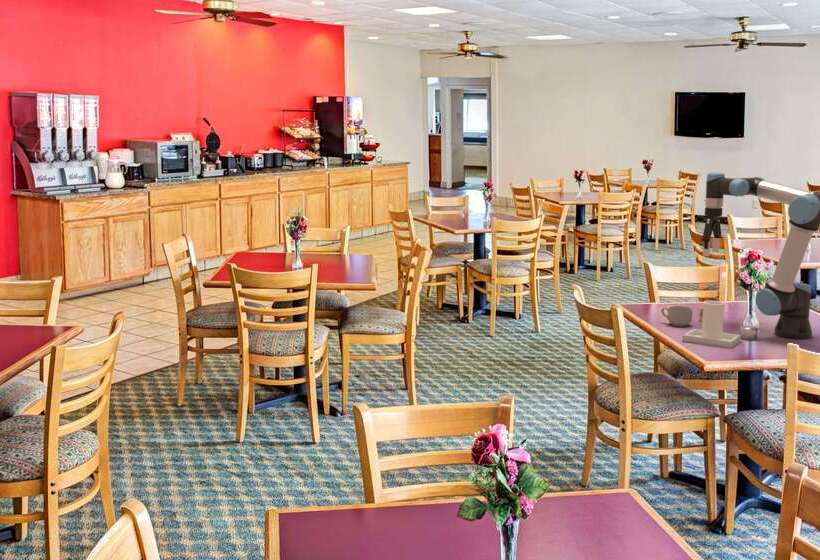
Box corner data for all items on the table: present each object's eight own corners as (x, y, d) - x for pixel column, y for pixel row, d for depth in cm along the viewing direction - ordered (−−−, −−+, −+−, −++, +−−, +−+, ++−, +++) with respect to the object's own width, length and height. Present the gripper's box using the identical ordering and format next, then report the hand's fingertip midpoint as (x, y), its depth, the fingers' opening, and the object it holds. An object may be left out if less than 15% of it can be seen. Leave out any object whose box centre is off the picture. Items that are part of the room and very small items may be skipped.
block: (710, 320, 433) (711, 307, 432) (710, 322, 428) (711, 309, 427) (699, 319, 434) (700, 306, 433) (699, 321, 430) (699, 308, 429)
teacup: (696, 325, 422) (697, 308, 420) (684, 329, 414) (685, 311, 413) (668, 320, 431) (669, 303, 430) (656, 324, 424) (657, 306, 422)
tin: (758, 338, 398) (759, 326, 397) (754, 341, 392) (755, 330, 391) (742, 336, 402) (742, 324, 401) (737, 339, 396) (738, 327, 395)
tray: (740, 341, 391) (740, 335, 391) (730, 348, 380) (731, 341, 379) (693, 335, 402) (693, 328, 402) (682, 341, 391) (682, 335, 391)
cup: (724, 342, 387) (726, 304, 384) (704, 342, 387) (706, 304, 384) (718, 337, 395) (720, 300, 392) (698, 337, 395) (701, 300, 392)
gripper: (713, 204, 430) (711, 250, 433) (696, 208, 409) (693, 256, 413) (730, 205, 425) (727, 251, 429) (713, 210, 405) (710, 258, 409)
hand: (710, 254), depth 421 cm, fingers open, 13 cm apart
